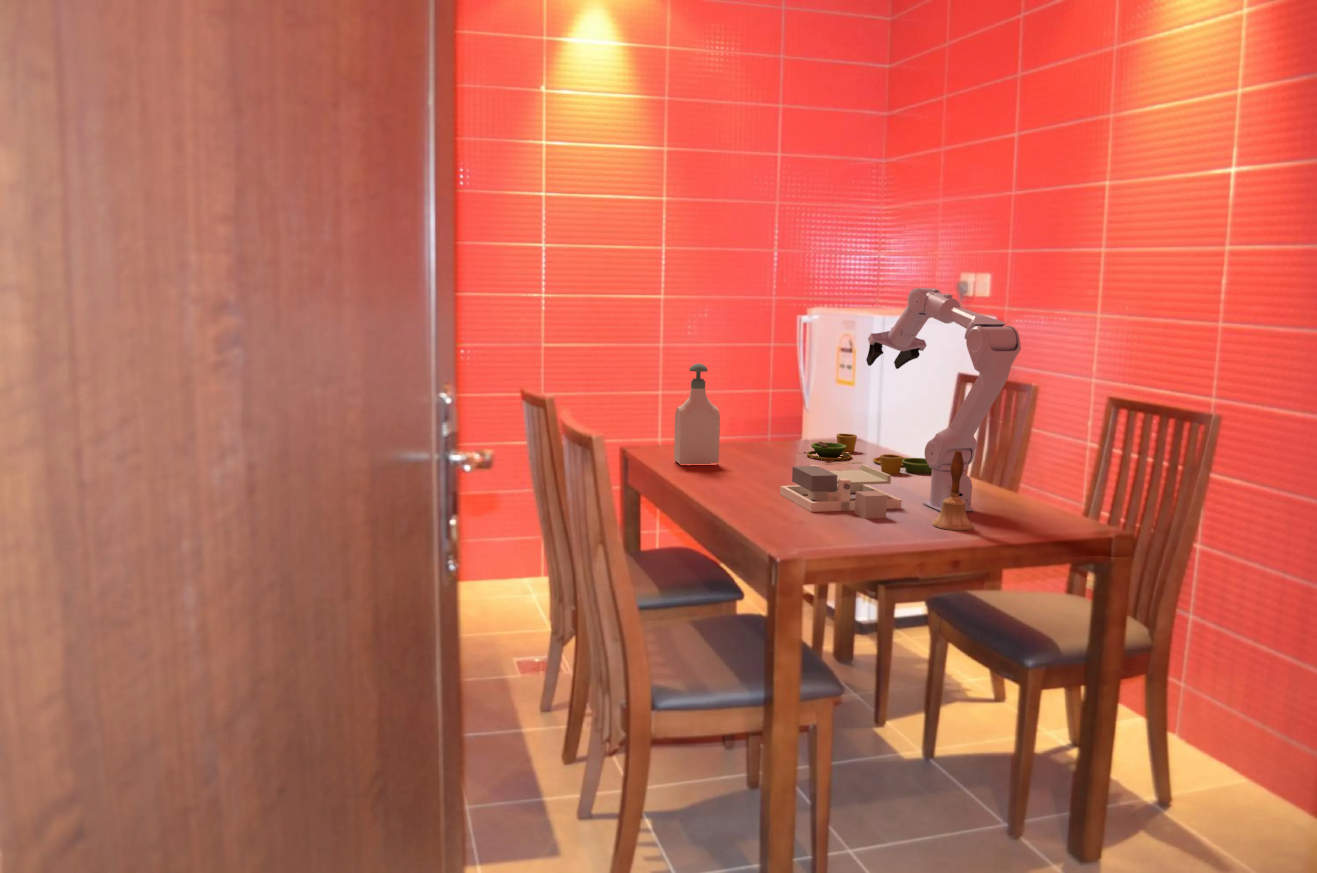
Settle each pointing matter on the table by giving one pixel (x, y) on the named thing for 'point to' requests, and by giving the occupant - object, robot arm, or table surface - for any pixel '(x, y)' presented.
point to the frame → (832, 497)
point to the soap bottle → (697, 425)
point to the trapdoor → (836, 477)
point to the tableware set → (887, 461)
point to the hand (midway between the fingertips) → (882, 364)
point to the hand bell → (954, 501)
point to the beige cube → (870, 504)
